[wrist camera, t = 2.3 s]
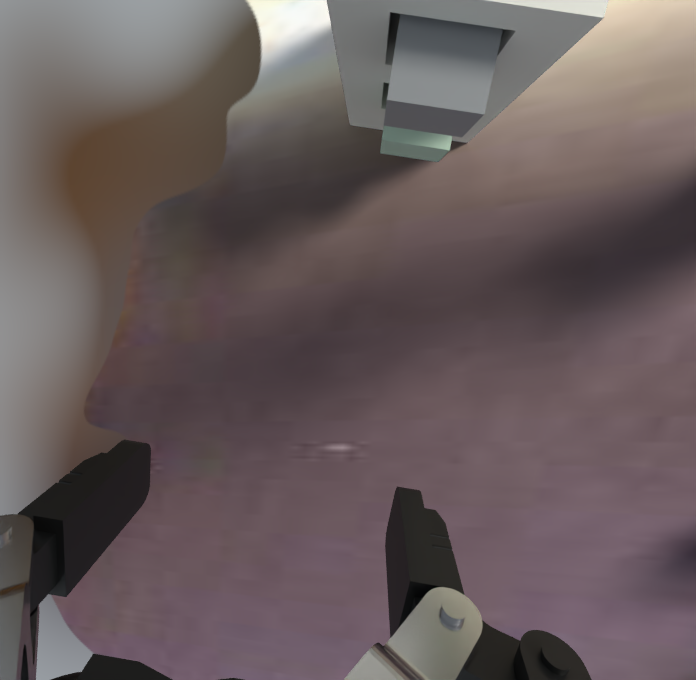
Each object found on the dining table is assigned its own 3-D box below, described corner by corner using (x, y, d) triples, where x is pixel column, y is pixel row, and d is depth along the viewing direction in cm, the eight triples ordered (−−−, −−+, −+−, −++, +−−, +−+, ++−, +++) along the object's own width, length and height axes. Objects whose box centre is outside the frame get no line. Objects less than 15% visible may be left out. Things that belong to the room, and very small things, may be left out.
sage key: (453, 82, 32) (468, 55, 27) (438, 162, 33) (449, 150, 29) (392, 73, 32) (396, 44, 27) (380, 153, 33) (381, 139, 29)
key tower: (491, 27, 37) (695, -315, 14) (467, 143, 40) (603, 17, 17) (365, 8, 37) (358, -361, 14) (349, 125, 40) (322, -24, 17)
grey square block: (485, 26, 23) (515, -28, 18) (462, 137, 25) (484, 114, 20) (401, 13, 23) (409, -44, 18) (383, 125, 25) (386, 99, 20)
